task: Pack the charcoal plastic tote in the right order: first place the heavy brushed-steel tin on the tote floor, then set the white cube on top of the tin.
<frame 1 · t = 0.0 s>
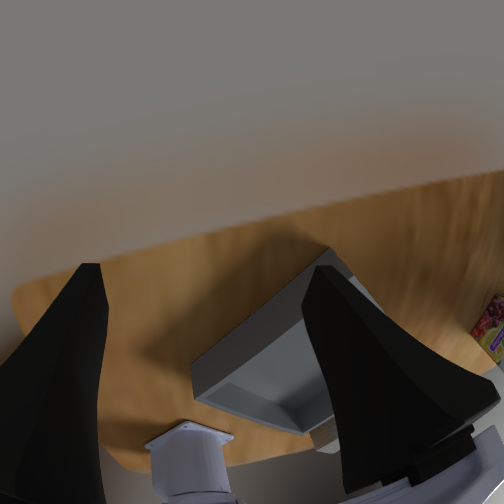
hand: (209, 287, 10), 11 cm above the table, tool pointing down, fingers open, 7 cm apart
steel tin: (325, 416, 38), on the table
snack box: (503, 315, 40), on the table
tote: (308, 349, 29), on the table
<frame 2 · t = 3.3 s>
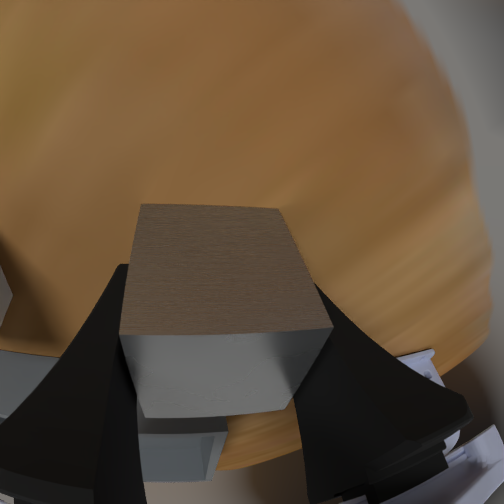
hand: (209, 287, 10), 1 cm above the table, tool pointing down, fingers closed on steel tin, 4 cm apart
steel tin: (205, 259, 11), on the table, touching gripper
tote: (104, 414, 18), on the table
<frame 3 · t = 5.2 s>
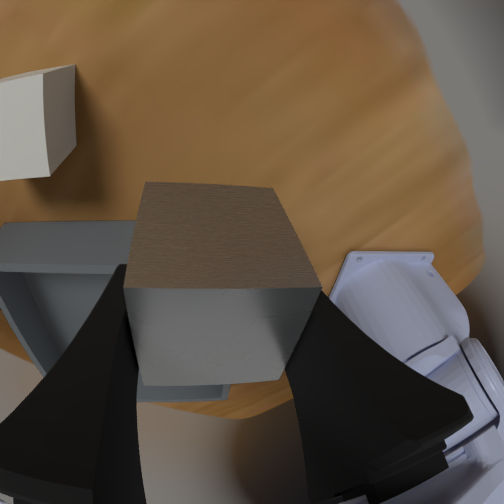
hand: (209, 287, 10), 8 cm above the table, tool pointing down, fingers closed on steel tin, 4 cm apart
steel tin: (204, 236, 12), point 6 cm above the table, touching gripper
tote: (126, 310, 22), on the table
white cube: (39, 109, 12), on the table
when the fingers open (3 cm above the table, at t = 7.6 s): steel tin stays where it is, resting on tote.
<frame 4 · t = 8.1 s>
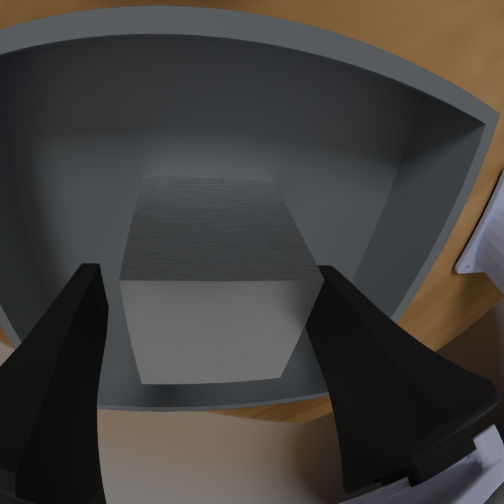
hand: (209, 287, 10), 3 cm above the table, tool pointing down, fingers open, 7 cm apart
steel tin: (203, 232, 12), point 1 cm above the table, touching tote
tote: (203, 234, 12), on the table
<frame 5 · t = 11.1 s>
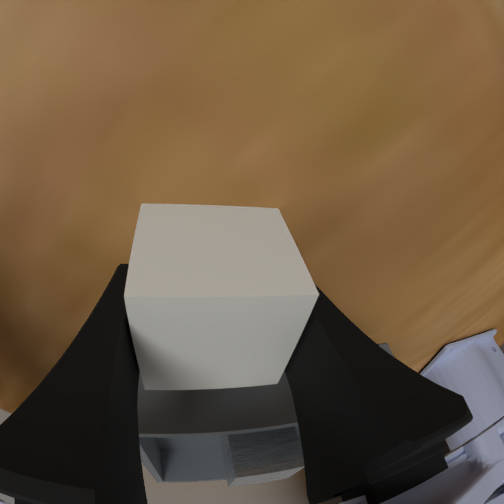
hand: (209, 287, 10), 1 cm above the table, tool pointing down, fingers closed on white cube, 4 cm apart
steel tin: (251, 417, 20), point 1 cm above the table, touching tote
tote: (249, 412, 21), on the table
white cube: (205, 259, 11), on the table, touching gripper
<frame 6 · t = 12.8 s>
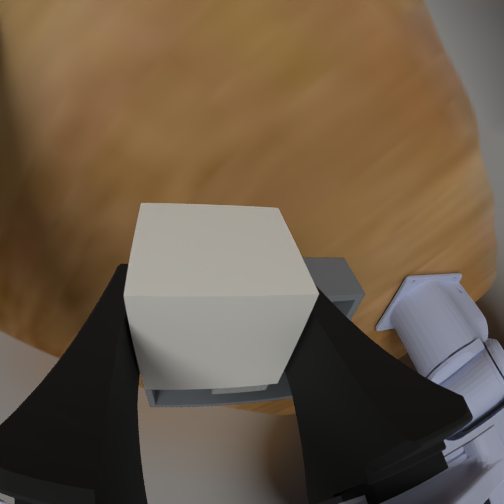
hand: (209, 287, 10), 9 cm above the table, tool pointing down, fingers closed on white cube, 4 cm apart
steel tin: (233, 329, 26), point 1 cm above the table, touching tote
tote: (232, 327, 27), on the table
white cube: (205, 259, 11), point 8 cm above the table, touching gripper
when the fingers open (8 cm above the table, at t = 14.7 s): white cube drops 1 cm, resting on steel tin.
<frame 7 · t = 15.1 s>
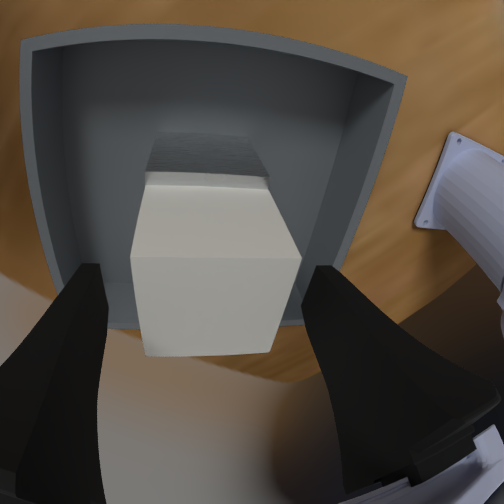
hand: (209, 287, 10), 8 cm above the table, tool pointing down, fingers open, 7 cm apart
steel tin: (198, 173, 16), point 1 cm above the table, touching white cube, tote
tote: (198, 178, 16), on the table
white cube: (203, 237, 12), point 6 cm above the table, touching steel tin
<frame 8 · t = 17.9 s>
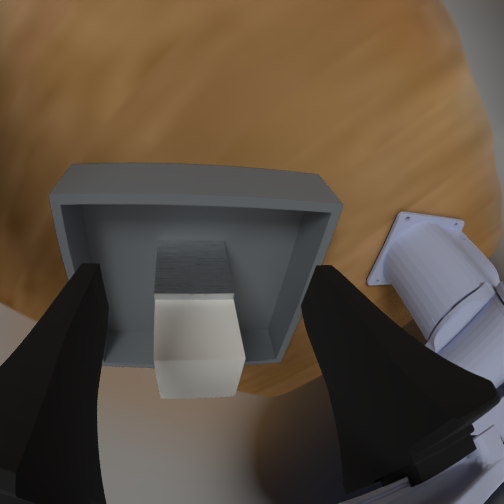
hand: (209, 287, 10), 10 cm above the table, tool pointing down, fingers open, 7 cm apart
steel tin: (189, 265, 22), point 1 cm above the table, touching white cube, tote
tote: (189, 265, 23), on the table
white cube: (193, 324, 19), point 6 cm above the table, touching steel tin
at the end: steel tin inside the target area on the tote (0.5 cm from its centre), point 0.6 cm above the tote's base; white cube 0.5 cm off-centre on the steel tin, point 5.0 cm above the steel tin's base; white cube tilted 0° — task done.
